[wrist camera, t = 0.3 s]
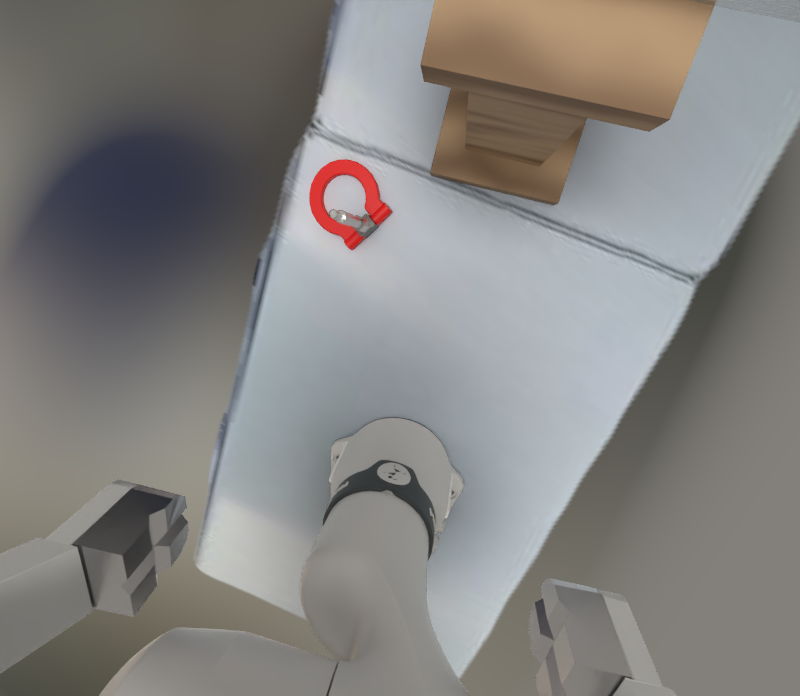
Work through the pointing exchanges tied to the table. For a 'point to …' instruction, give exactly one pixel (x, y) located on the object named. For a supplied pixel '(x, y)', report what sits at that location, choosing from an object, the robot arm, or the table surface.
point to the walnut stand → (550, 81)
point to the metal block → (761, 7)
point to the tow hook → (344, 223)
